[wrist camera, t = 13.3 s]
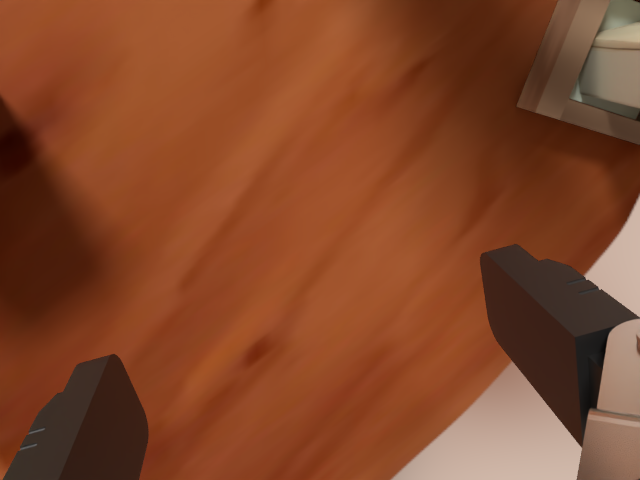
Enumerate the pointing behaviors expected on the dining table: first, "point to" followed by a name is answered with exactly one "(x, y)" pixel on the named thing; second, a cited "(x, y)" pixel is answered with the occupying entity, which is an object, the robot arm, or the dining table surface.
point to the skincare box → (613, 66)
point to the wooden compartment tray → (579, 68)
